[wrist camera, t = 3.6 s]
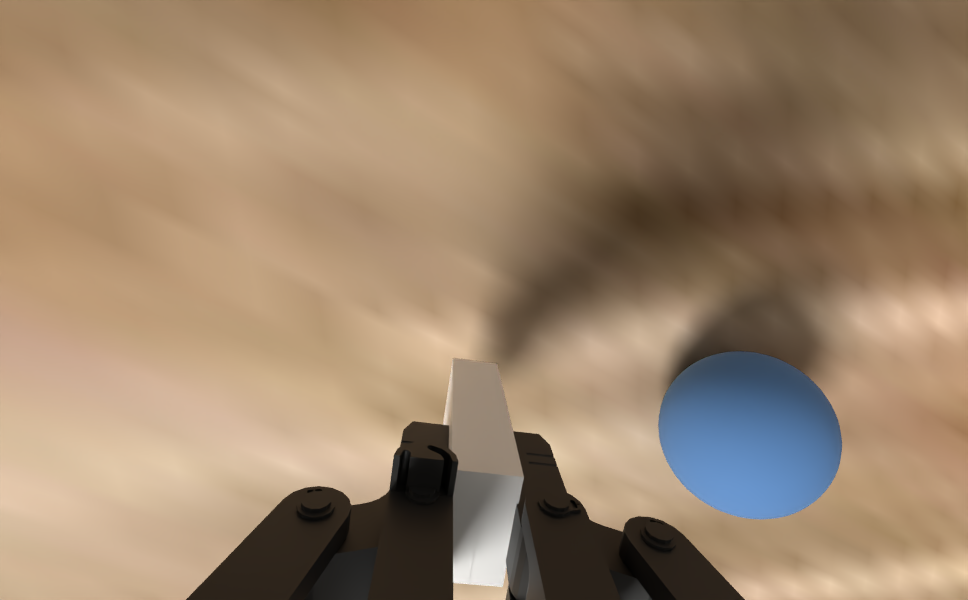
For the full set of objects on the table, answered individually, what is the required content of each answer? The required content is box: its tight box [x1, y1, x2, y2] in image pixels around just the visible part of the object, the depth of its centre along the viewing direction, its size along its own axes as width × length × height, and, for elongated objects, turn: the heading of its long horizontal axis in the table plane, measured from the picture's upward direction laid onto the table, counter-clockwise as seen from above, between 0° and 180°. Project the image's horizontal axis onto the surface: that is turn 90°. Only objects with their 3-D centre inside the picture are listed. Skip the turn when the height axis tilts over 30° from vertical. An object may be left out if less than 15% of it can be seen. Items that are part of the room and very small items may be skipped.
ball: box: [658, 351, 842, 519], centre depth 17 cm, size 6×6×6 cm
